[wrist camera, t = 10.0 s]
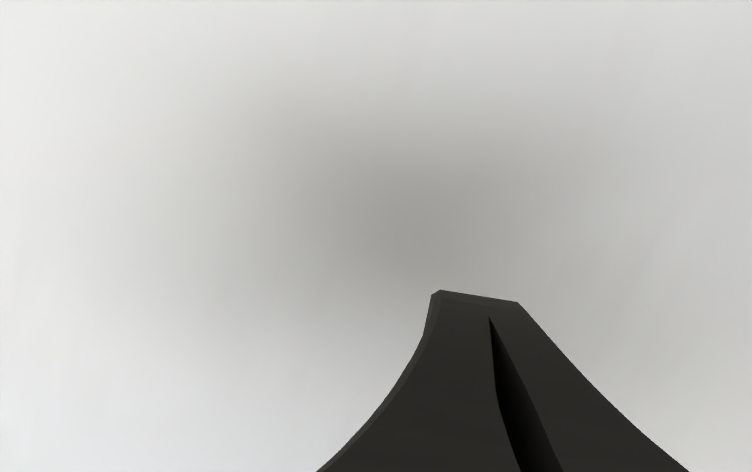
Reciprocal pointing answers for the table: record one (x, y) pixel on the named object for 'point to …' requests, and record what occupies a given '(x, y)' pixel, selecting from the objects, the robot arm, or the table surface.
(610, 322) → the table surface
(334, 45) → the table surface
